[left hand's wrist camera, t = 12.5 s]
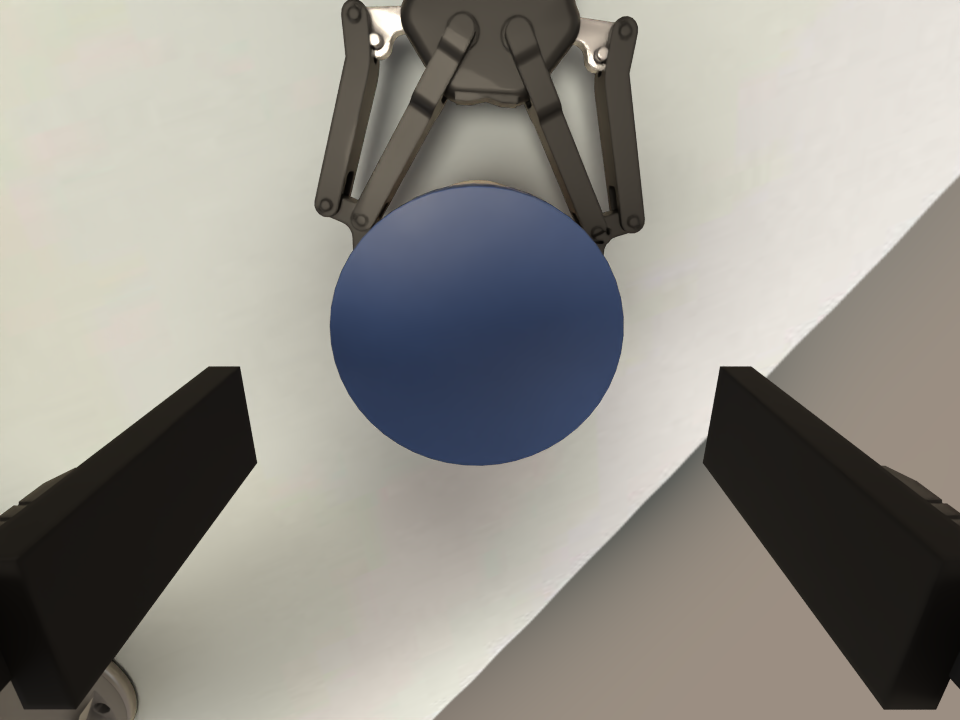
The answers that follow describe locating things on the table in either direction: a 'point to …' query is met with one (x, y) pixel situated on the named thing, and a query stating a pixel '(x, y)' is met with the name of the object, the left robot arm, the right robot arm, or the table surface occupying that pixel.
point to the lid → (476, 325)
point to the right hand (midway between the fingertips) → (473, 347)
